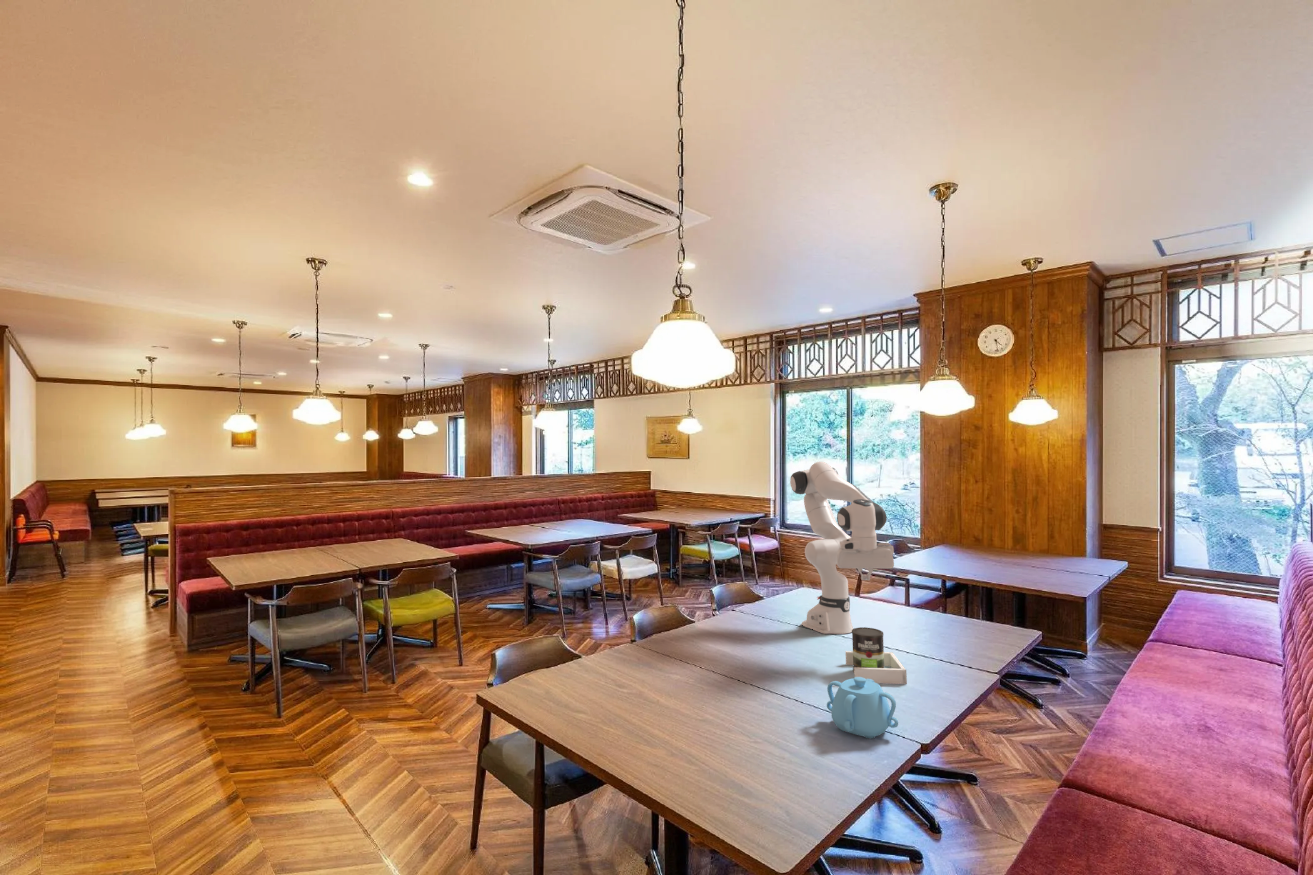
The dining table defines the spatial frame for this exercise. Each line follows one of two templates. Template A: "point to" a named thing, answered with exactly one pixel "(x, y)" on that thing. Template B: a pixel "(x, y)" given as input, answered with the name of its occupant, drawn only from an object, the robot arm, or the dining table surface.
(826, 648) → the dining table surface
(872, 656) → the coffee can
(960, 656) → the dining table surface
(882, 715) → the decorative pot
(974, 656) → the dining table surface
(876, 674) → the box
